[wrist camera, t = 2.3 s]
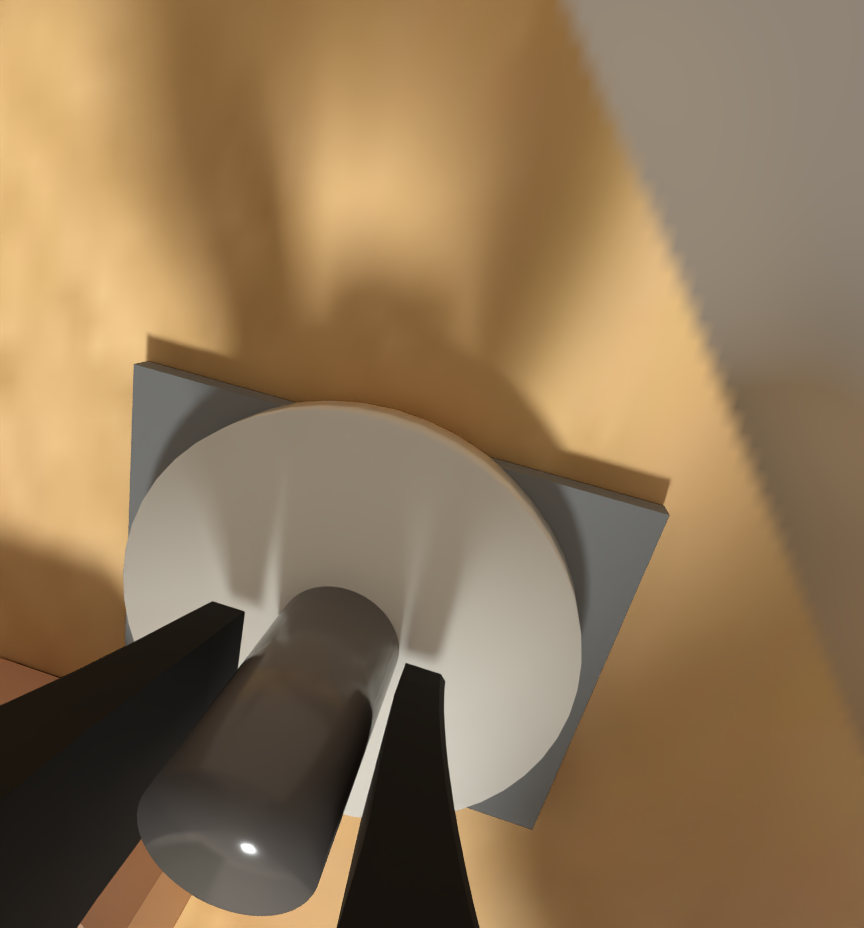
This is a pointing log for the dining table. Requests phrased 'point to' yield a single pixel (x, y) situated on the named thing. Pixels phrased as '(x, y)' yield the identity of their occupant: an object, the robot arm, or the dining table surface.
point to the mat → (558, 499)
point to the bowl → (139, 878)
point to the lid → (341, 632)
